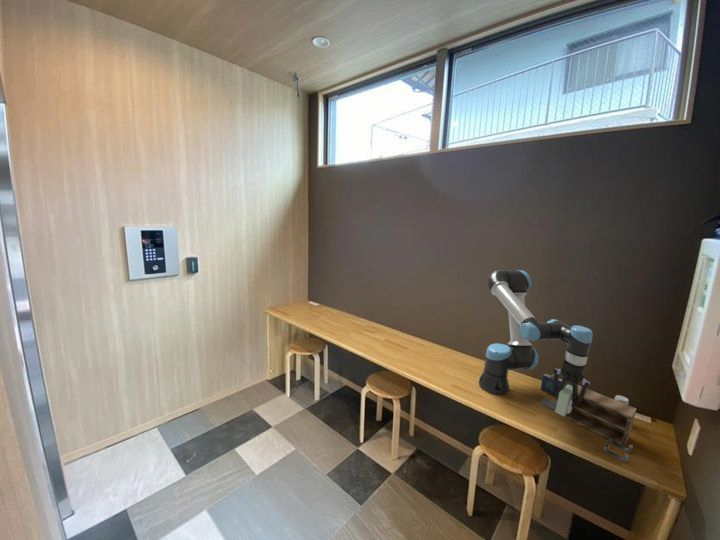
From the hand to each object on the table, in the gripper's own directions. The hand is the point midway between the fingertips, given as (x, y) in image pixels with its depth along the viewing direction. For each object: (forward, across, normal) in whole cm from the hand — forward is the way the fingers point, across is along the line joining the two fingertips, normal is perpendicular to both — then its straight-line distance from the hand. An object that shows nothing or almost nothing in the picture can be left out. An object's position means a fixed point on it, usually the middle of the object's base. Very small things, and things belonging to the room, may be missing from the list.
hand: (563, 409), depth 131 cm
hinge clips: (+8, +20, +2) cm, 21 cm away
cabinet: (+8, +10, +12) cm, 17 cm away
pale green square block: (0, 0, 0) cm, 0 cm away
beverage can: (+8, +15, +26) cm, 31 cm away
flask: (+9, -13, +24) cm, 29 cm away
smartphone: (+9, -5, +13) cm, 17 cm away
